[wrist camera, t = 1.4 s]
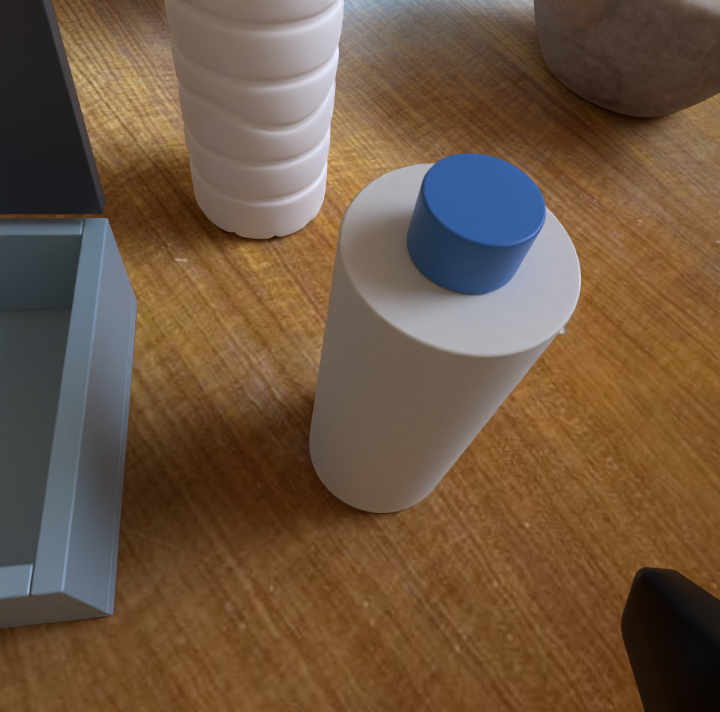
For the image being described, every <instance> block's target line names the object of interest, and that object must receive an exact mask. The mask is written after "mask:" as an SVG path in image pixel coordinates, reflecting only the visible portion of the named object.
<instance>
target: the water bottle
mask: <svg viewBox="0 0 720 712" xmlns="http://www.w3.org/2000/svg"><path fill="white" fill-rule="evenodd" d="M164 4H165V11H166V16H167V21H168V26H169V30H170V33H171V46H172V55H173V61H174V67H175V71H176V75H177V78H178V80H179V83H178V91H179V100H180V106H181V110H182V115H183V119H184V130H185V138H186V144H187V149H188V153H189V162H190V171H191V177H192V183H193V190H194V195H195V198H196V201H197V204H198V206H199V207H200V209H201V210H203V212H204V214H205V216H206V217H207V218H208V219H209V220H210V221H211V222H212V223H214V224H215V225H216V226H218V227H220V228H221V229H223V230H225V231H227V232H235V233H236V234H237V235H239V236H242V237H246V238H253V239H268V238H271V237H273V236H278V237H282V236H286V235H289V234H292V233H294V232H296V231H298V230H300V229H302V228H303V227H305V226H306V225H307V223H308V222H309V221H311V220H313V219H314V218H315V217H316V215H317V214H318V212H319V210H320V208H321V206H322V203H323V200H324V194H325V187H326V176H327V157H328V152H329V145H330V123H331V119H332V113H333V106H334V97H335V75H336V71H337V67H338V59H339V47H338V43H339V39H340V35H341V29H342V21H343V10H344V0H164Z"/></svg>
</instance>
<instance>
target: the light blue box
mask: <svg viewBox="0 0 720 712" xmlns="http://www.w3.org/2000/svg"><path fill="white" fill-rule="evenodd" d="M136 313H137V301H136V298H135V295H134V293H133V290H132V287H131V284H130V281H129V278H128V276H127V273H126V270H125V267H124V264H123V261H122V258H121V256H120V253H119V250H118V247H117V244H116V241H115V238H114V235H113V233H112V230H111V227H110V224H109V221H108V219H107V218H85V219H83V218H0V629H2V628H11V627H19V626H28V625H36V624H45V623H54V622H62V621H71V620H80V619H88V618H97V617H106V616H112V615H113V609H114V596H115V583H116V570H117V558H118V545H119V532H120V519H121V506H122V493H123V480H124V467H125V455H126V442H127V429H128V416H129V403H130V390H131V377H132V364H133V352H134V339H135V326H136Z"/></svg>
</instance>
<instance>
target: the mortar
mask: <svg viewBox="0 0 720 712" xmlns="http://www.w3.org/2000/svg"><path fill="white" fill-rule="evenodd" d="M534 11H535V21H536V27H537V34H538V40H539V45H540V49H541V53H542V56H543V59H544V61H545V63H546V65H547V66H548V68H549V69H550V71H551V72H552V73H553V74H554V76H555V77H556V78H557V79H558V80H559V81H560V82H562V83H563V84H564V85H565V86H566V87H567V88H569V89H570V90H571V91H573V92H574V93H576V94H577V95H579V96H580V97H582V98H584V99H586V100H588V101H590V102H592V103H594V104H596V105H598V106H600V107H603V108H605V109H608V110H611V111H614V112H617V113H620V114H624V115H630V116H636V117H660V116H665V115H669V114H672V113H675V112H678V111H681V110H683V109H686V108H688V107H691V106H693V105H695V104H698V103H700V102H702V101H704V100H706V99H708V98H710V97H712V96H714V95H716V94H718V93H720V0H534Z"/></svg>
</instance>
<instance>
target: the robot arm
mask: <svg viewBox="0 0 720 712" xmlns="http://www.w3.org/2000/svg"><path fill="white" fill-rule="evenodd" d="M621 631H622V637H623V641H624V644H625V647H626V651H627V654H628V657H629V661H630V664H631V667H632V671H633V674H634V677H635V681H636V684H637V687H638V691H639V694H640V697H641V701H642V704H643V707H644V711H645V712H720V600H719V599H717V598H716V597H714V596H713V595H711V594H710V593H708V592H707V591H705V590H704V589H702V588H701V587H699V586H698V585H697V584H695V583H694V582H692V581H691V580H689V579H688V578H686V577H685V576H683V575H682V574H680V573H679V572H677V571H675V570H671V569H662V568H650V567H644V568H641V569H640V570H639V571H638V572H637V573H636V575H635V577H634V580H633V583H632V586H631V589H630V592H629V596H628V599H627V602H626V605H625V608H624V611H623V614H622V619H621Z"/></svg>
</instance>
